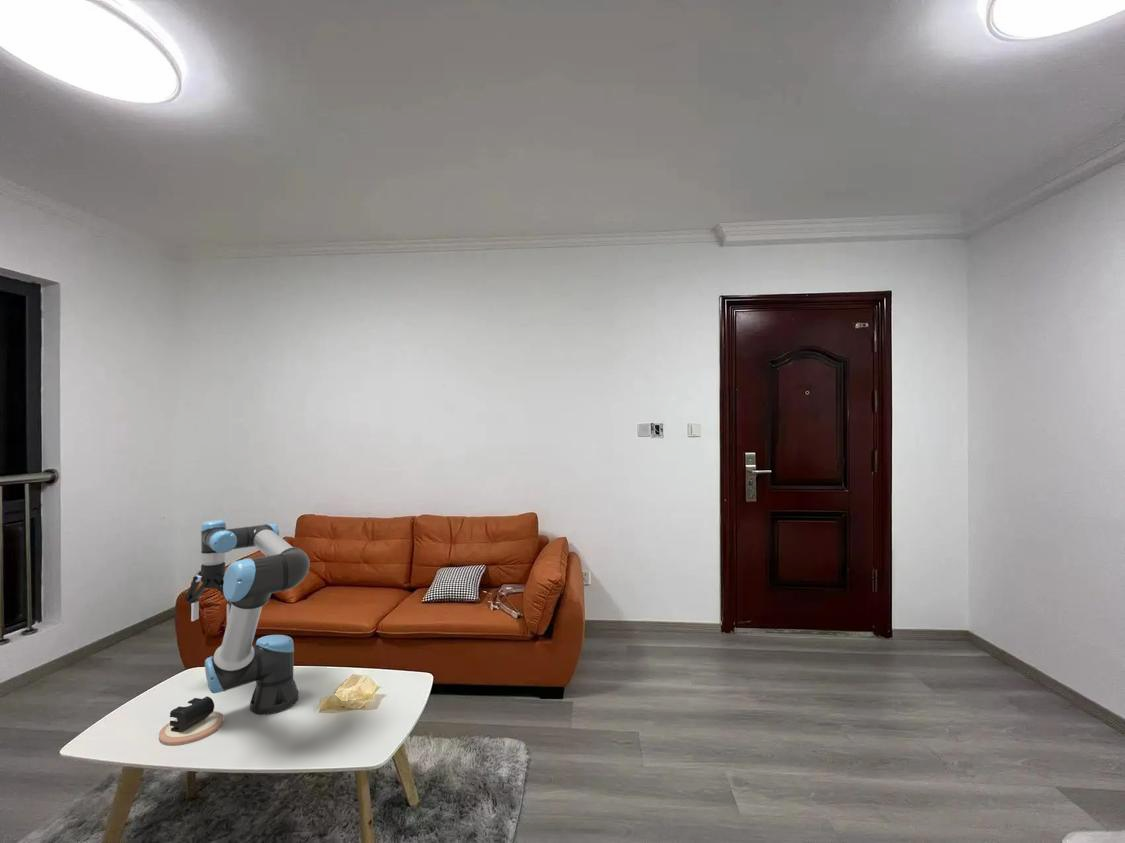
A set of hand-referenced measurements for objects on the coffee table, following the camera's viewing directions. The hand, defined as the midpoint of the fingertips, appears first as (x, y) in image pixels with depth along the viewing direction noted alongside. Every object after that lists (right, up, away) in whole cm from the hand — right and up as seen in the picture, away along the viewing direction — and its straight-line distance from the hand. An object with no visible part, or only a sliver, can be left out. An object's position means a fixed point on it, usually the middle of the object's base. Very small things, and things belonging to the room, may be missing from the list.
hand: (212, 620), depth 191 cm
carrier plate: (+10, -26, -24) cm, 37 cm away
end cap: (+10, -25, -24) cm, 36 cm away
